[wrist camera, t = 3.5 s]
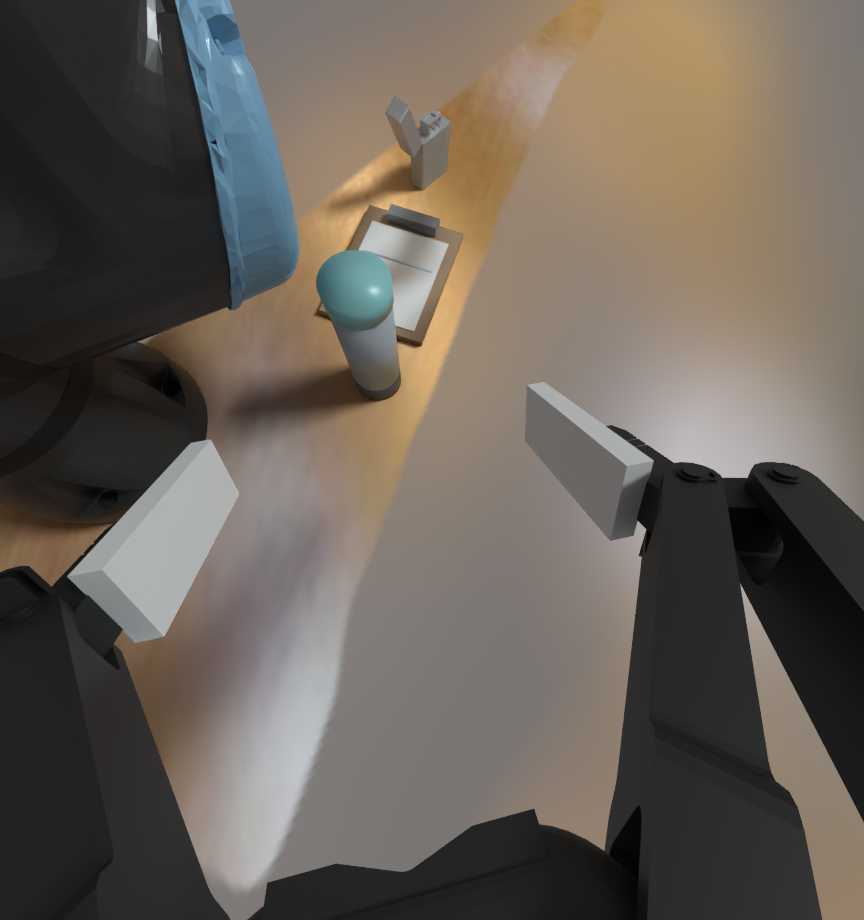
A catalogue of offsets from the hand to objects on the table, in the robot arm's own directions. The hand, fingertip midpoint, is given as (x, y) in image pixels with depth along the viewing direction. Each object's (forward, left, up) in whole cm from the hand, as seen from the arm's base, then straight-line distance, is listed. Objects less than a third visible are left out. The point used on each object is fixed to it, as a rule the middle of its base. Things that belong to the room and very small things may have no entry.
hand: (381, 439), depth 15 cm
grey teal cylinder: (-5, +9, -14) cm, 18 cm away
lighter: (-9, +32, -15) cm, 36 cm away
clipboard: (-8, +20, -14) cm, 26 cm away
